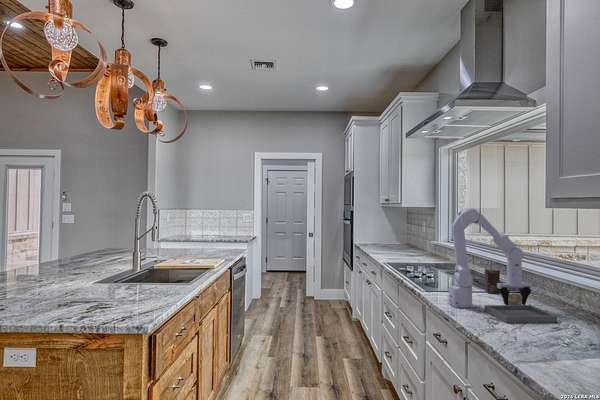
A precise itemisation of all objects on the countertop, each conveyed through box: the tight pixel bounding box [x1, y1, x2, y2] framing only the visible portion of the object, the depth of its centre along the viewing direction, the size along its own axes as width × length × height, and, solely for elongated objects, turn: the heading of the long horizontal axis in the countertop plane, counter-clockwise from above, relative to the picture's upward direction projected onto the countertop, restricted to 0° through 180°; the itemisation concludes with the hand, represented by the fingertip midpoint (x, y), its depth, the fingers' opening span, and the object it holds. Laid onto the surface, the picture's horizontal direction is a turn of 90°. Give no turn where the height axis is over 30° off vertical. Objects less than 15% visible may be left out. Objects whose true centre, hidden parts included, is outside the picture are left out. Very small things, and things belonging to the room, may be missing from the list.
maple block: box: [508, 292, 523, 305], centre depth 163 cm, size 4×4×6 cm
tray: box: [484, 304, 558, 324], centre depth 150 cm, size 20×16×2 cm
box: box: [484, 268, 501, 294], centre depth 191 cm, size 6×4×12 cm
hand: (514, 304), depth 163 cm, fingers open, 7 cm apart
